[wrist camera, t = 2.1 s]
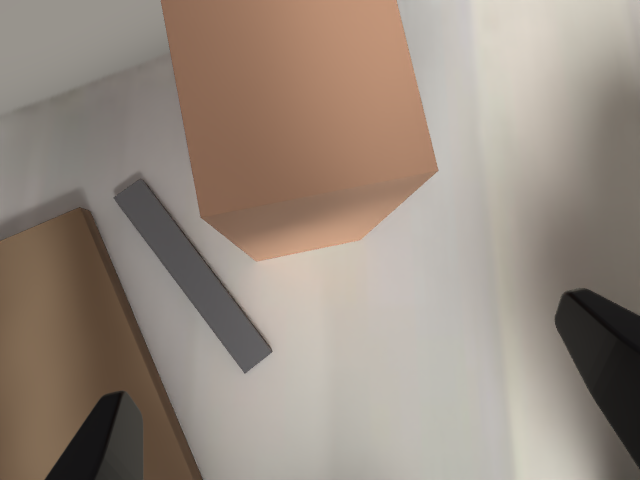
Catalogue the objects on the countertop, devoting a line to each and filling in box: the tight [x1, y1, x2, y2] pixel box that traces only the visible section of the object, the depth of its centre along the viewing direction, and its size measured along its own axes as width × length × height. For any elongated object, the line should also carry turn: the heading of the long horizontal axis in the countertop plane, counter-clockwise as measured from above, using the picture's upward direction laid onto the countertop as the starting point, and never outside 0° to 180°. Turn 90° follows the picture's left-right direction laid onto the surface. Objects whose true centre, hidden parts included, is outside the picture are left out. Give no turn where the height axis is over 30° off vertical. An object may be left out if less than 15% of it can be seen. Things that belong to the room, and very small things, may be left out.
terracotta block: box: [161, 0, 438, 261], centre depth 15 cm, size 5×5×12 cm
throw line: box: [114, 179, 272, 373], centre depth 20 cm, size 10×2×1 cm, turn 38°
